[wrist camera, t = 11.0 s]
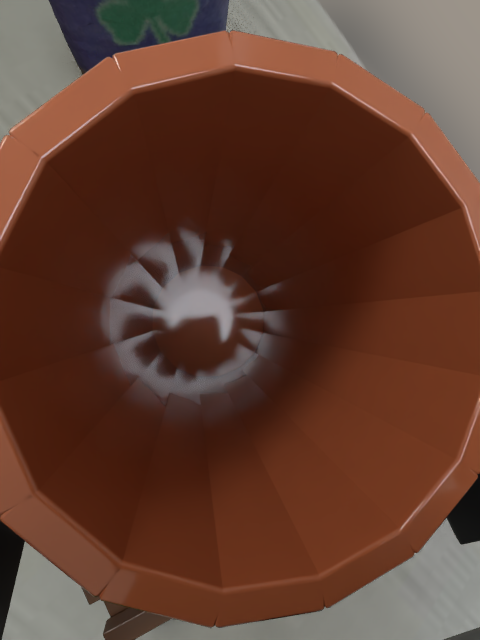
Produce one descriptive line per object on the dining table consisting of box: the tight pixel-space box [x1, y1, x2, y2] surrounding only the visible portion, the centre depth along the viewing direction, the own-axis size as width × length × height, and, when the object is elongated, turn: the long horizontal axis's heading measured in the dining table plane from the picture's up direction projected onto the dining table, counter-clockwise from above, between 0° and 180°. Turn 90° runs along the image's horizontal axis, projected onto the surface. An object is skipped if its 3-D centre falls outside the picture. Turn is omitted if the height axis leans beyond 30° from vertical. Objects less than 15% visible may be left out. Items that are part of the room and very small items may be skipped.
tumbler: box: [0, 30, 480, 628], centre depth 10 cm, size 7×7×13 cm
